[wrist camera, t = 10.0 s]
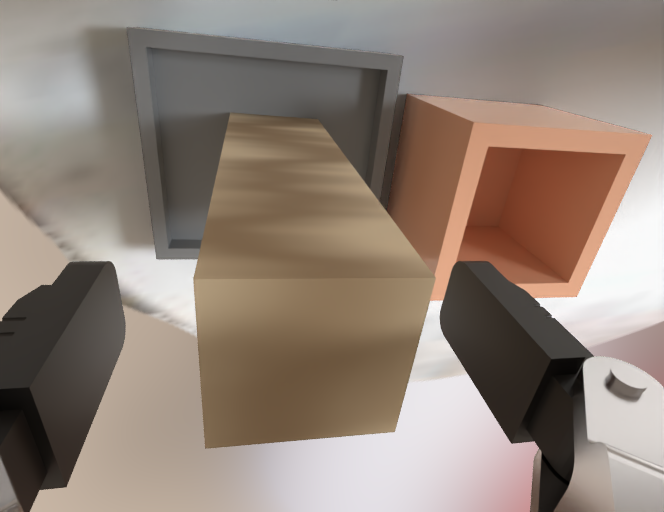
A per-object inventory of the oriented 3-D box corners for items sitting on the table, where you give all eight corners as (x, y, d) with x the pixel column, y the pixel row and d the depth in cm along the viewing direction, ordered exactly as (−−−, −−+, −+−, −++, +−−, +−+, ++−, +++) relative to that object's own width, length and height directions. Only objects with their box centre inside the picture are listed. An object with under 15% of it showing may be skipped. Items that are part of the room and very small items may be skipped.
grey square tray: (389, 53, 19) (403, 55, 17) (361, 241, 24) (370, 258, 22) (139, 27, 17) (126, 27, 15) (163, 240, 22) (156, 259, 20)
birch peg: (317, 119, 19) (436, 277, 7) (311, 199, 21) (394, 431, 9) (230, 112, 18) (193, 279, 6) (231, 196, 20) (205, 448, 8)
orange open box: (540, 104, 22) (652, 134, 16) (498, 232, 25) (576, 296, 19) (407, 93, 20) (473, 122, 14) (383, 231, 24) (428, 300, 18)
